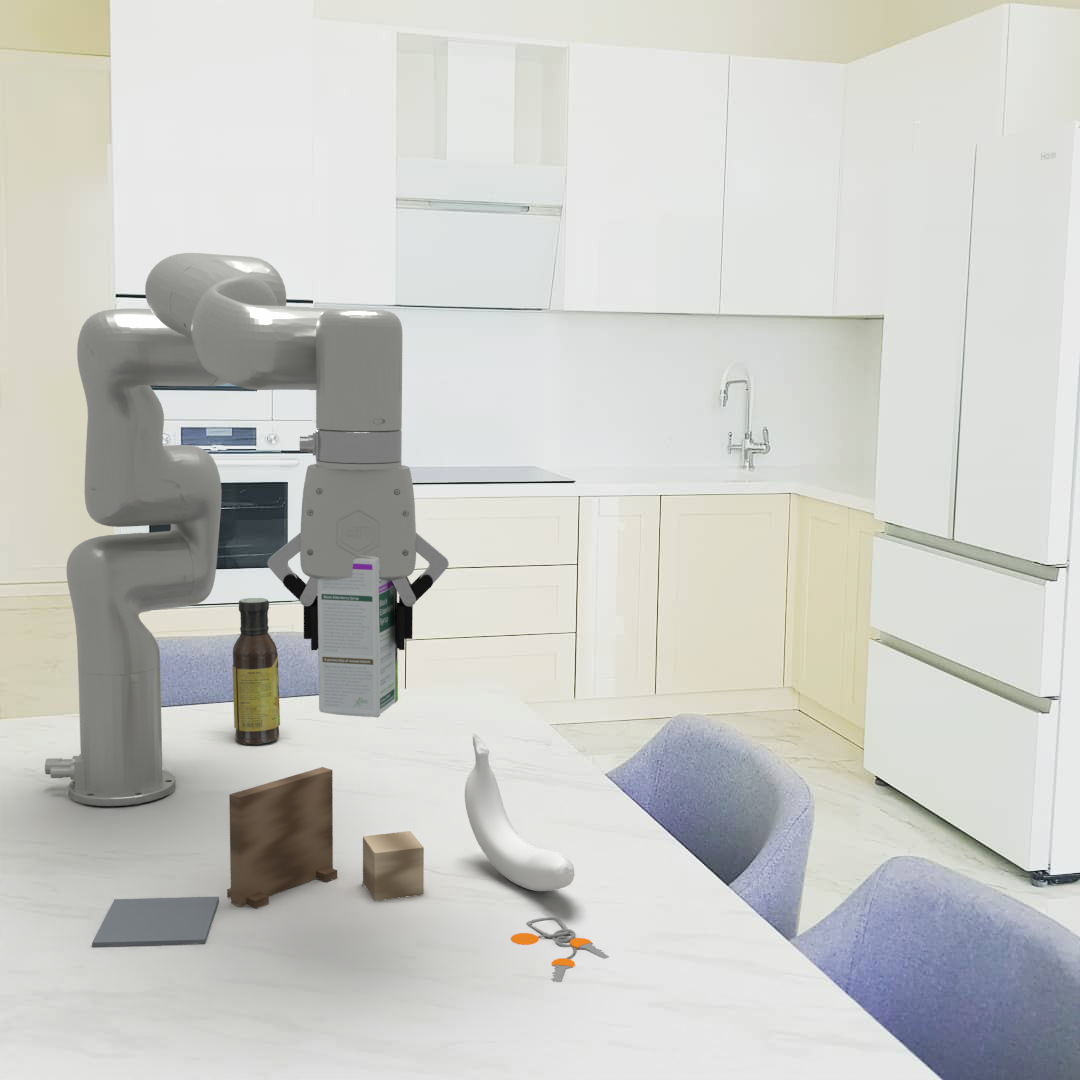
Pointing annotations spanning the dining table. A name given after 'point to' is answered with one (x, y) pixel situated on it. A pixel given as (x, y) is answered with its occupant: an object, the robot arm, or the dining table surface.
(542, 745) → the dining table surface
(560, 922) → the key chain
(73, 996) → the dining table surface
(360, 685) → the syrup box
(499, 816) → the banana
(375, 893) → the oak cube
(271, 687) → the sauce bottle
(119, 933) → the mat
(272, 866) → the screen
